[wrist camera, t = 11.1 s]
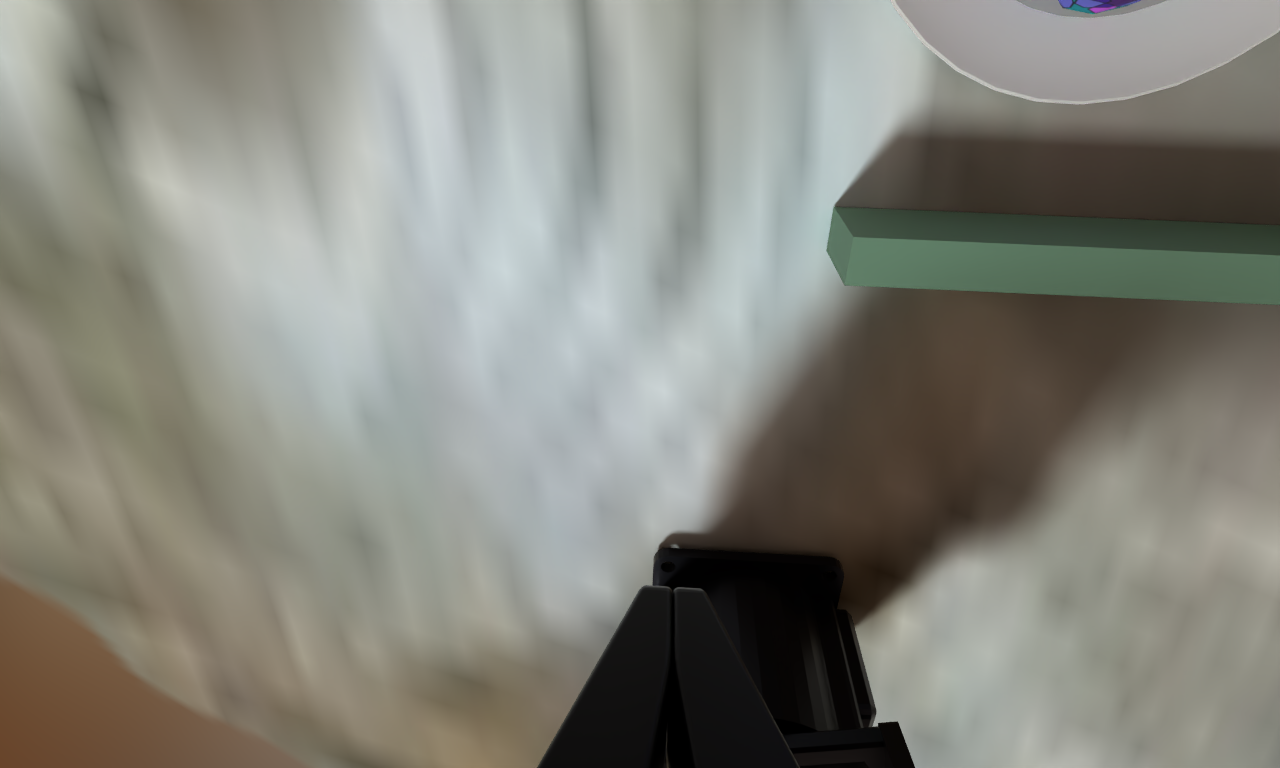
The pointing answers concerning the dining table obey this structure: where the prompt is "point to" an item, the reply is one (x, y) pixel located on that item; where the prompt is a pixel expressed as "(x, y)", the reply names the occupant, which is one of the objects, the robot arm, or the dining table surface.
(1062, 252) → the frame
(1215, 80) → the dining table surface
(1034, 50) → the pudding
